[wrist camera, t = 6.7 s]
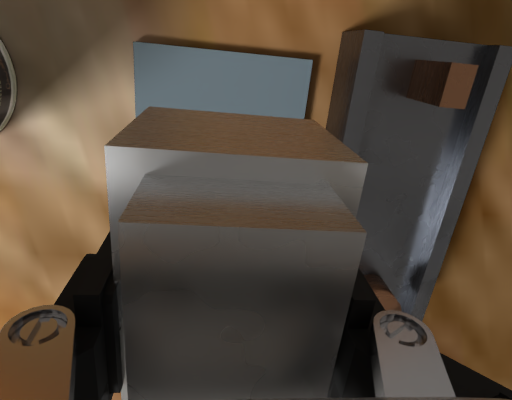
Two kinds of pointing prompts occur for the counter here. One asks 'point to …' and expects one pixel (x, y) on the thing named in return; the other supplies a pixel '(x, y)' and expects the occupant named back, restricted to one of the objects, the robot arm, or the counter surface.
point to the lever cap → (231, 253)
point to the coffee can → (6, 87)
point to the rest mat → (219, 81)
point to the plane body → (413, 148)
